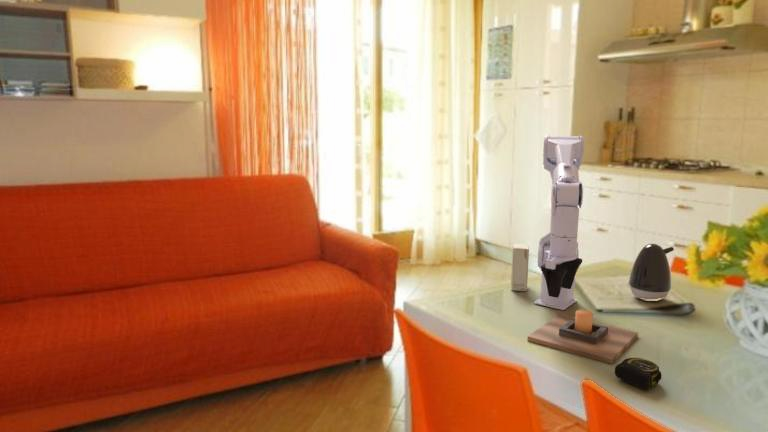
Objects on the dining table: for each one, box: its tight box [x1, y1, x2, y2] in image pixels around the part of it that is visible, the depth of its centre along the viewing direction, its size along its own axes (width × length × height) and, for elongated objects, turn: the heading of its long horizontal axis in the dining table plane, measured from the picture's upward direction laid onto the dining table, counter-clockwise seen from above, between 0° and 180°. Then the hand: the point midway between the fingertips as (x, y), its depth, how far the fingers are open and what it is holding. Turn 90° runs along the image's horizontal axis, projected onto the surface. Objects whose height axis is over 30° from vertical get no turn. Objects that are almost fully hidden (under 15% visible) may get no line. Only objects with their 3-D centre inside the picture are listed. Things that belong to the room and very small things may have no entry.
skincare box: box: [510, 243, 530, 292], centre depth 159 cm, size 6×4×12 cm
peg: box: [574, 309, 594, 334], centre depth 125 cm, size 4×4×5 cm
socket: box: [526, 313, 639, 365], centre depth 125 cm, size 18×18×2 cm
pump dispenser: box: [628, 243, 675, 299], centre depth 150 cm, size 10×10×15 cm
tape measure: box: [614, 357, 663, 391], centre depth 105 cm, size 7×7×4 cm
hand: (560, 292), depth 131 cm, fingers open, 7 cm apart
